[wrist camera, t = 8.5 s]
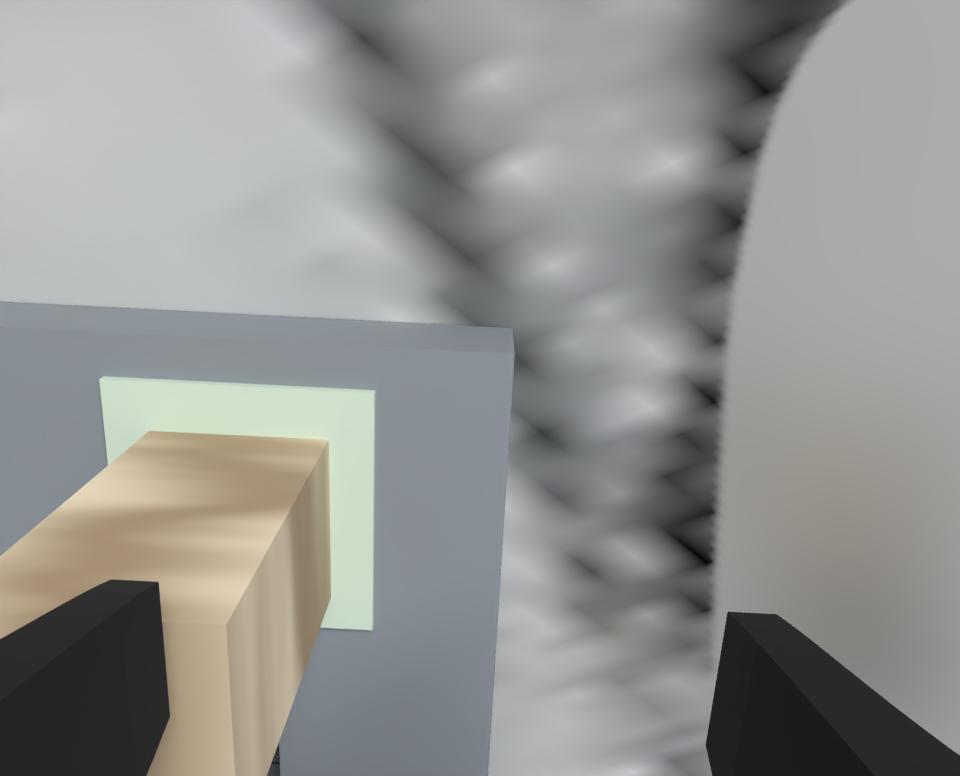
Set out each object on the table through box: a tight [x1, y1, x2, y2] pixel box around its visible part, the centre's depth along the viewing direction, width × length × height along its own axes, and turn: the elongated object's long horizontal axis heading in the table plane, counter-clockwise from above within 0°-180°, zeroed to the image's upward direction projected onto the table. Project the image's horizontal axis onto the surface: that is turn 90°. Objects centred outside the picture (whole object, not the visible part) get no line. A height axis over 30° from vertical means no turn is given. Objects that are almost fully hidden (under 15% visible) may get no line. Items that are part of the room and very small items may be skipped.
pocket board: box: [0, 302, 515, 776], centre depth 21 cm, size 14×16×3 cm
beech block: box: [0, 431, 331, 776], centre depth 15 cm, size 4×4×7 cm
